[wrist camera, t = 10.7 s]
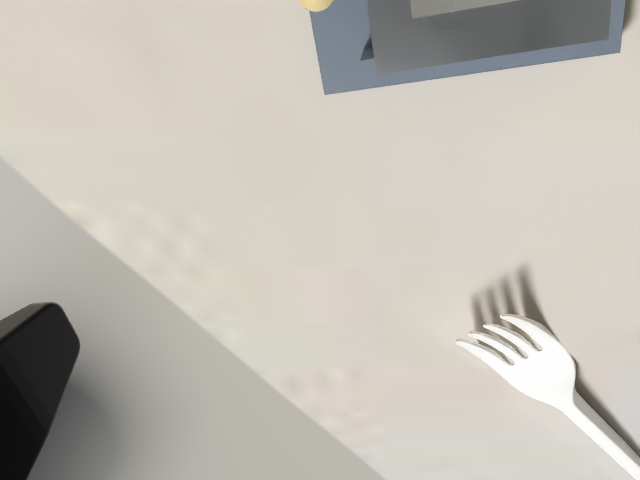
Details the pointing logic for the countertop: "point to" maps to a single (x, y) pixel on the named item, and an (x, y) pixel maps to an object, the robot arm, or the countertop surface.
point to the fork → (548, 380)
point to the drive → (478, 29)
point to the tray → (360, 73)
